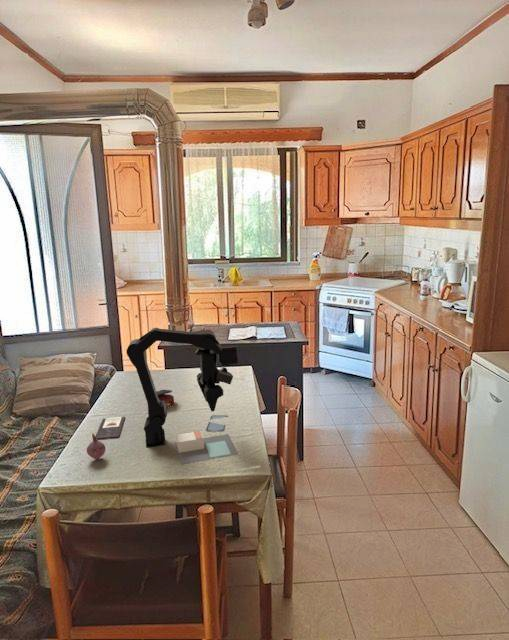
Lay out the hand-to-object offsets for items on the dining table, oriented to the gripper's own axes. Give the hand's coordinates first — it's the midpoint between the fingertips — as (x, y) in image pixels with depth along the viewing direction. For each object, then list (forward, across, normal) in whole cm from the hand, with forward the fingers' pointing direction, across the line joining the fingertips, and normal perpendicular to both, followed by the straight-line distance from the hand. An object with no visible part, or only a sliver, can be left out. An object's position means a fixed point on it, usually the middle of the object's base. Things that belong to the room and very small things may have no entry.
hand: (210, 406), depth 171 cm
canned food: (+14, +40, +14) cm, 44 cm away
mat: (+13, -8, +4) cm, 15 cm away
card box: (+13, -4, +8) cm, 16 cm away
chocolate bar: (+15, +23, +36) cm, 45 cm away
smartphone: (+13, +11, -5) cm, 18 cm away
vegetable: (+14, -1, +40) cm, 43 cm away
